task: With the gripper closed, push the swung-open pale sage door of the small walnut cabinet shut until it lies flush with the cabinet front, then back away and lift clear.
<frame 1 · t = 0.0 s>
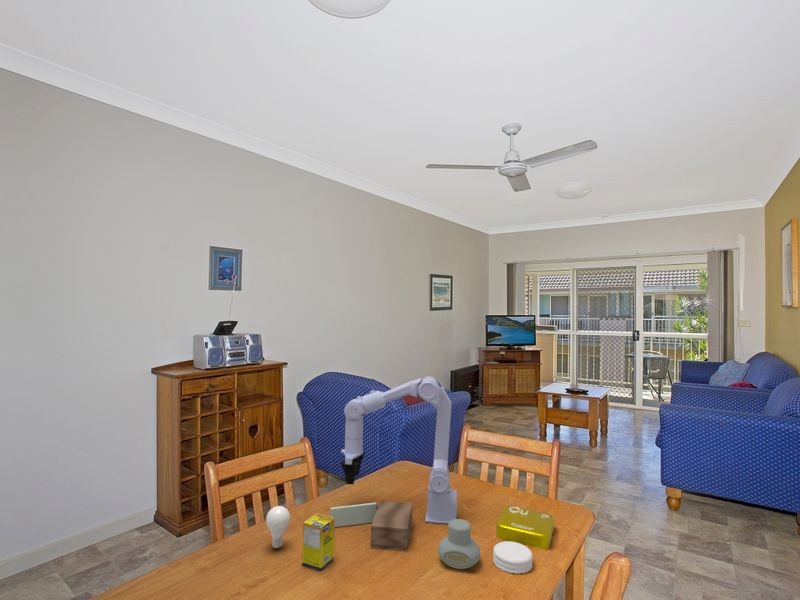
hand: (352, 479, 145), 10 cm above the table, fingers open, 7 cm apart
air freshener: (458, 563, 117), on the table
supplement box: (318, 563, 115), on the table
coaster: (512, 564, 117), on the table
cabinet door: (354, 514, 136), point 3 cm above the table, hinge at 65.0°
walnut cabinet: (392, 534, 130), on the table
element tile: (525, 534, 133), on the table
lightbulb: (277, 548, 121), on the table
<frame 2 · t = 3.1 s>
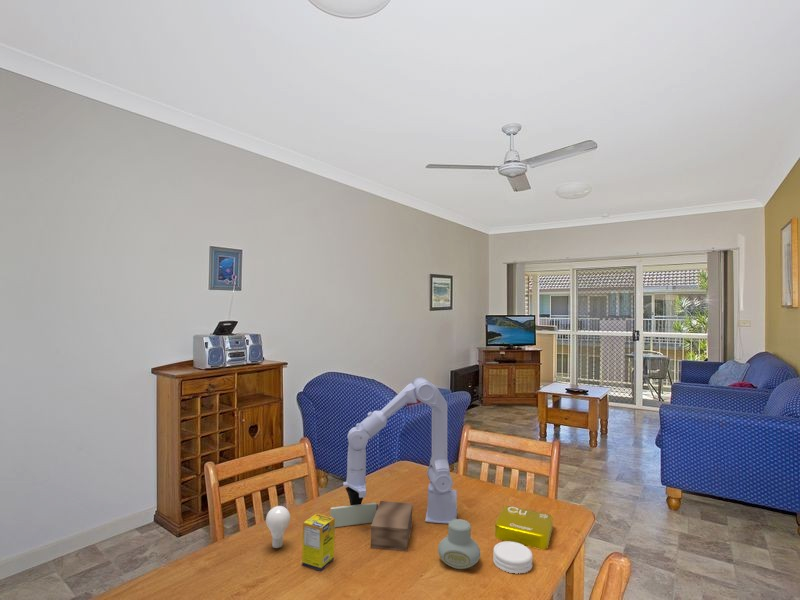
hand: (355, 511, 137), 3 cm above the table, fingers closed
cabinet door: (354, 514, 136), point 3 cm above the table, hinge at 65.0°, touching gripper
everything else where it was.
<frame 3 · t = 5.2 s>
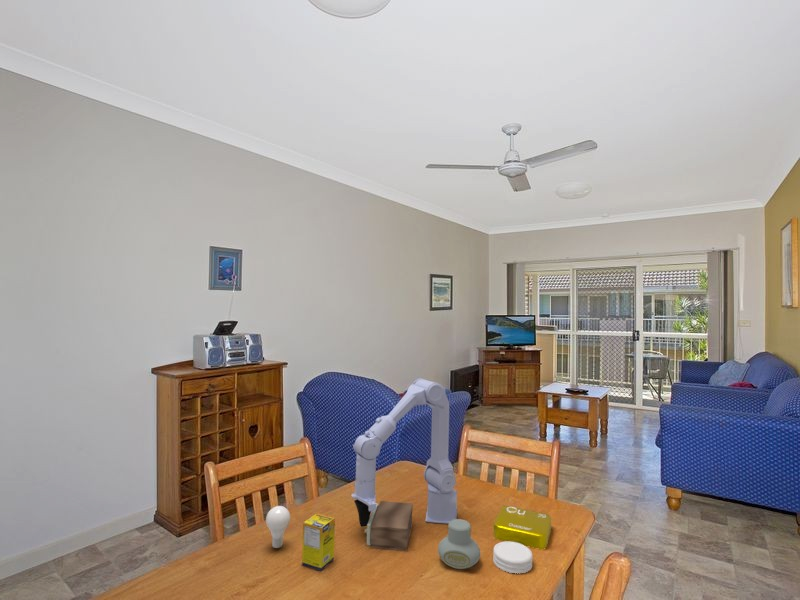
hand: (364, 525, 129), 3 cm above the table, fingers closed, pressing on cabinet door
cabinet door: (371, 522, 131), point 3 cm above the table, hinge at -1.0°, touching gripper
everything else where it was.
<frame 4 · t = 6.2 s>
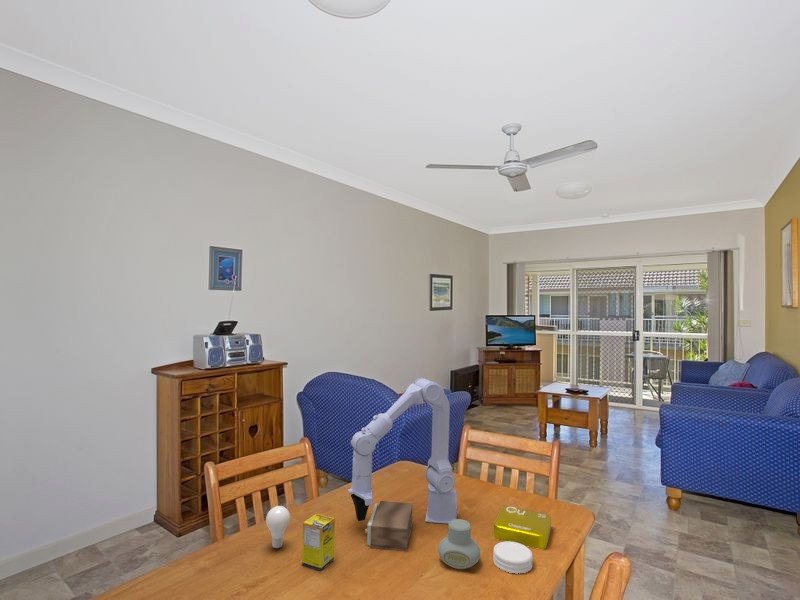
hand: (360, 519, 132), 3 cm above the table, fingers closed
cabinet door: (371, 522, 131), point 3 cm above the table, hinge at -1.6°
everything else where it was.
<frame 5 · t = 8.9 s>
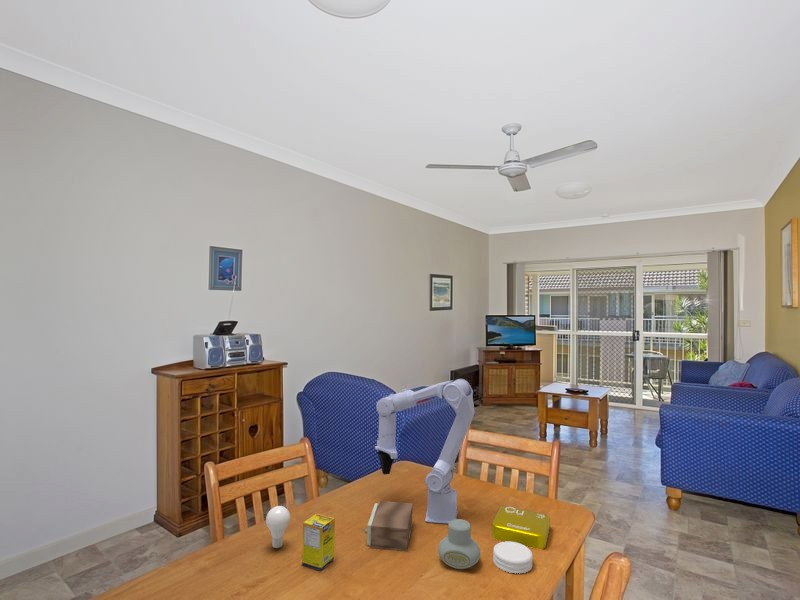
hand: (386, 473, 149), 10 cm above the table, fingers closed
at the end: cabinet door at -2° (first picture: +65°); supplement box moved 0.2 cm from its start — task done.
